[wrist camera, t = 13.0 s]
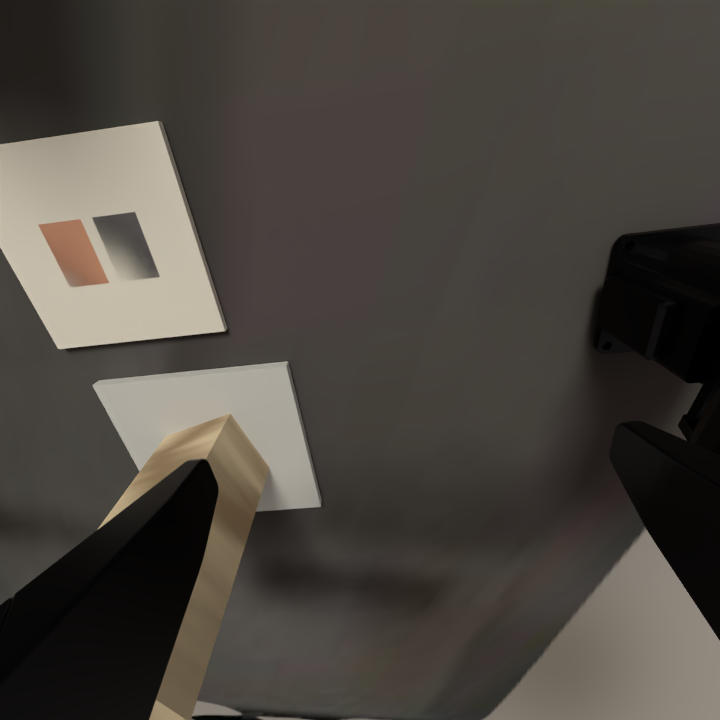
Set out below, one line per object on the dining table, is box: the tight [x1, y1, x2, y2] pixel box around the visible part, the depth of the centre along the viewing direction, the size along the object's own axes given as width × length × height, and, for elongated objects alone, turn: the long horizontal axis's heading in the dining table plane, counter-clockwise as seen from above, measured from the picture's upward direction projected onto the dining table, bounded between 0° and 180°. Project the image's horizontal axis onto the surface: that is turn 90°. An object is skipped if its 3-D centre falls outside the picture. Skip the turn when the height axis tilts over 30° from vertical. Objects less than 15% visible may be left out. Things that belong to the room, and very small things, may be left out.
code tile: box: [0, 121, 228, 349], centre depth 19 cm, size 10×10×1 cm
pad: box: [93, 361, 322, 512], centre depth 25 cm, size 12×12×1 cm
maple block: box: [97, 414, 269, 720], centre depth 19 cm, size 5×5×13 cm
